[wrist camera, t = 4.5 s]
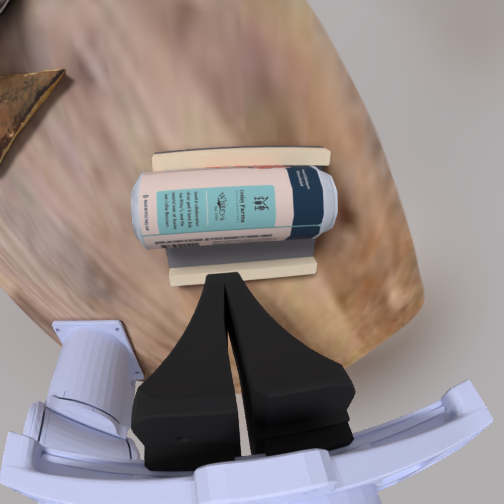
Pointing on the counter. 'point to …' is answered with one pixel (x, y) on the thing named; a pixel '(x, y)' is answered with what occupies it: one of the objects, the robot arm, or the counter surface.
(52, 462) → the robot arm
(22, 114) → the shard
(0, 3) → the supplement bottle
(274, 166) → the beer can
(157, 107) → the counter surface
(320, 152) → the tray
